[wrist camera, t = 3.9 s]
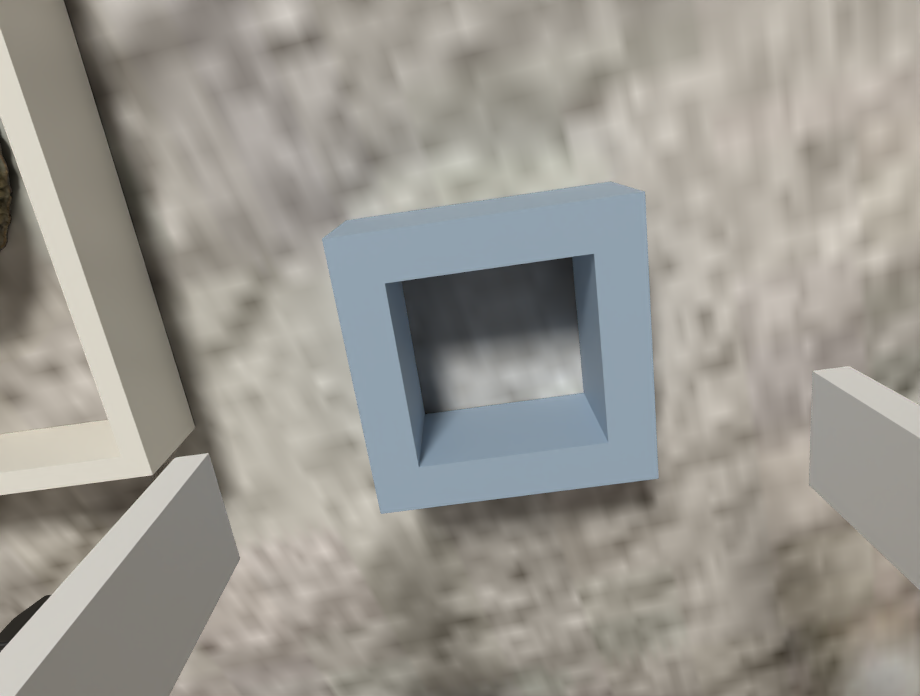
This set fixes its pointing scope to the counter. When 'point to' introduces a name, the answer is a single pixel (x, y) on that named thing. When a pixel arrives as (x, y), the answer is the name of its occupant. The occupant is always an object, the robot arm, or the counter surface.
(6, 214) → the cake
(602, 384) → the collar
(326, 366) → the counter surface
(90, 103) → the cream rectangular open frame
